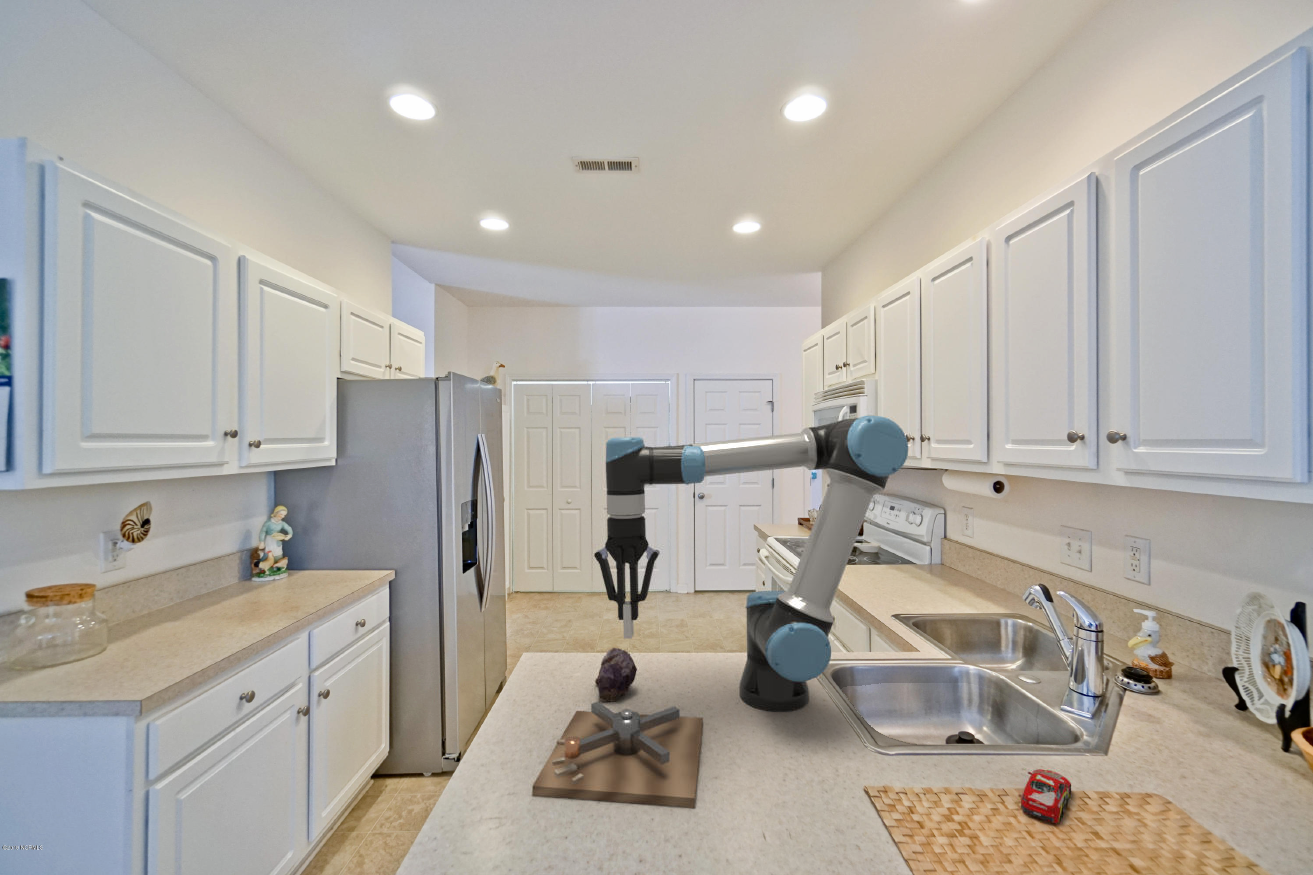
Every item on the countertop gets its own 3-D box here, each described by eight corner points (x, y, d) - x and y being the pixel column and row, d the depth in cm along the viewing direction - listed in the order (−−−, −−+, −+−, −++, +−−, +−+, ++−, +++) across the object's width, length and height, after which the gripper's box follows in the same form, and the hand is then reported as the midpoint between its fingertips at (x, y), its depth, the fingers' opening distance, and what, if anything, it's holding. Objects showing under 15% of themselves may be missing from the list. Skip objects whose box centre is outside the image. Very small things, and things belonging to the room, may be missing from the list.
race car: (1035, 777, 95) (1035, 753, 95) (1075, 791, 91) (1074, 766, 91) (1015, 813, 85) (1014, 787, 85) (1058, 831, 81) (1058, 802, 82)
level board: (703, 725, 113) (702, 714, 113) (694, 807, 87) (694, 793, 87) (576, 717, 116) (576, 707, 116) (532, 795, 90) (532, 781, 90)
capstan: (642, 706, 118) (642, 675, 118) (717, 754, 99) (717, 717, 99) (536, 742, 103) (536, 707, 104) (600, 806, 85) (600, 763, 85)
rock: (592, 708, 123) (638, 706, 123) (590, 672, 122) (636, 669, 122) (596, 678, 135) (638, 676, 135) (594, 644, 133) (636, 642, 134)
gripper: (661, 513, 114) (664, 630, 113) (598, 513, 115) (600, 629, 115) (656, 517, 106) (659, 643, 106) (589, 518, 108) (591, 642, 108)
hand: (628, 636), depth 110 cm, fingers closed
